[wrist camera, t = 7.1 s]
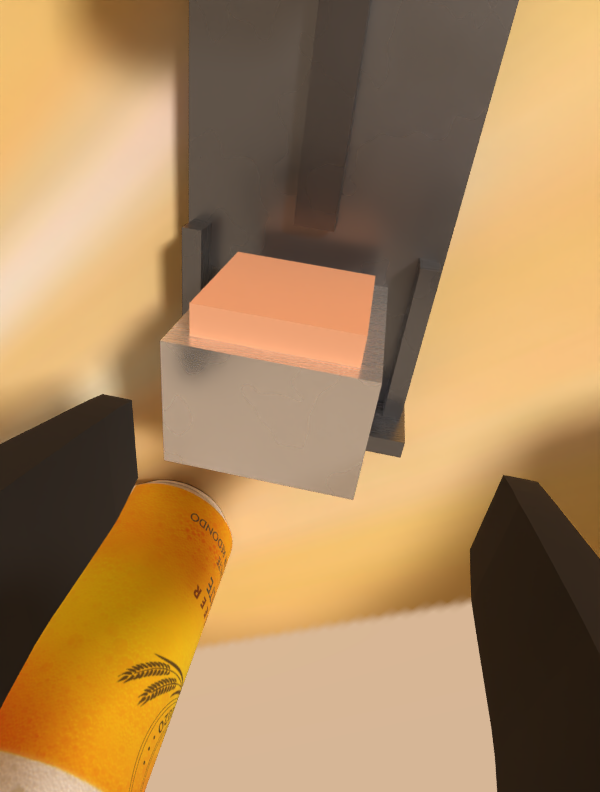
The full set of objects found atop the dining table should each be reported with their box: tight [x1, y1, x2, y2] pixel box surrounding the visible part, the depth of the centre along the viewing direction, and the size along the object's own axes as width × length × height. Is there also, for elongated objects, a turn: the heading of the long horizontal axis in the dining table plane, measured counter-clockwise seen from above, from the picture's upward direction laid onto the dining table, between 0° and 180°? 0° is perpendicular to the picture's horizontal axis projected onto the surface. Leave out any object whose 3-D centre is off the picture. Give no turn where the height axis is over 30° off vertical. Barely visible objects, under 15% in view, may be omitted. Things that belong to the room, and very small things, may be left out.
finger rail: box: [182, 0, 519, 457], centre depth 11 cm, size 21×8×7 cm, turn 173°
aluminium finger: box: [160, 252, 388, 500], centre depth 14 cm, size 4×5×6 cm
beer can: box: [0, 480, 232, 792], centre depth 19 cm, size 6×6×15 cm
